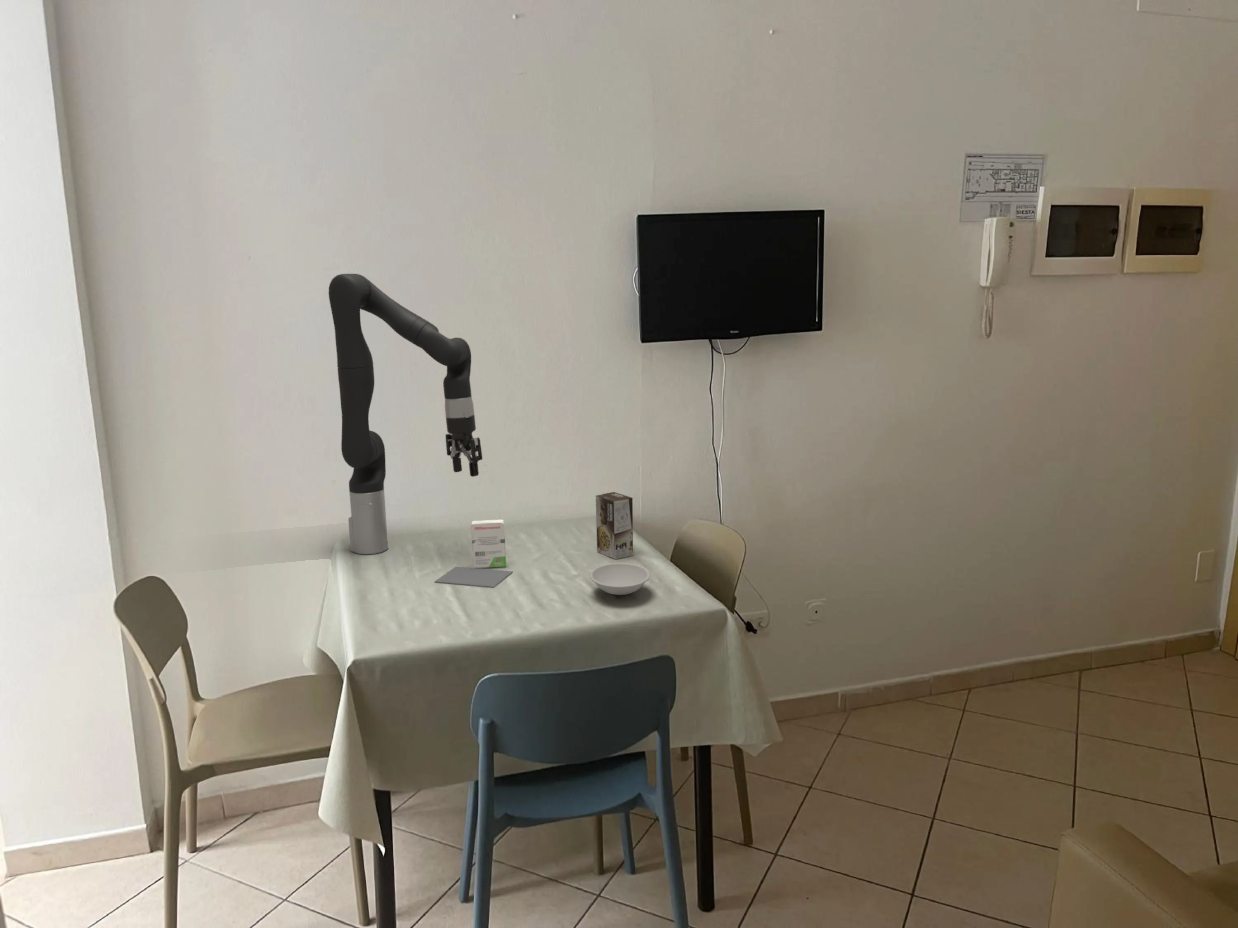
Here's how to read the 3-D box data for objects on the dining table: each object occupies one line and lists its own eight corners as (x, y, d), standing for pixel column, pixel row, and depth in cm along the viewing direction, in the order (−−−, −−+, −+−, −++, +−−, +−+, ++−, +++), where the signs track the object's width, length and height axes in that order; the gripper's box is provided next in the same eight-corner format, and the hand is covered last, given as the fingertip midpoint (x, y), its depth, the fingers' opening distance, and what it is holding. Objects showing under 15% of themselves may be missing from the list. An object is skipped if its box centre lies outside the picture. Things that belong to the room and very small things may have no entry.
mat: (434, 582, 229) (434, 581, 229) (455, 567, 240) (455, 566, 240) (493, 587, 224) (493, 586, 224) (512, 572, 236) (512, 571, 236)
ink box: (505, 562, 244) (504, 518, 242) (506, 566, 239) (504, 522, 237) (473, 563, 243) (471, 520, 241) (472, 568, 238) (470, 523, 236)
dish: (653, 606, 211) (653, 585, 210) (590, 608, 210) (590, 587, 209) (647, 580, 228) (646, 561, 227) (589, 582, 227) (588, 563, 226)
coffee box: (634, 555, 248) (633, 497, 245) (614, 559, 245) (613, 501, 241) (615, 547, 256) (614, 491, 252) (595, 551, 252) (594, 494, 249)
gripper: (434, 414, 246) (440, 473, 250) (461, 418, 235) (468, 480, 239) (458, 410, 251) (464, 467, 254) (486, 414, 240) (492, 474, 244)
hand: (466, 473), depth 247 cm, fingers open, 8 cm apart
